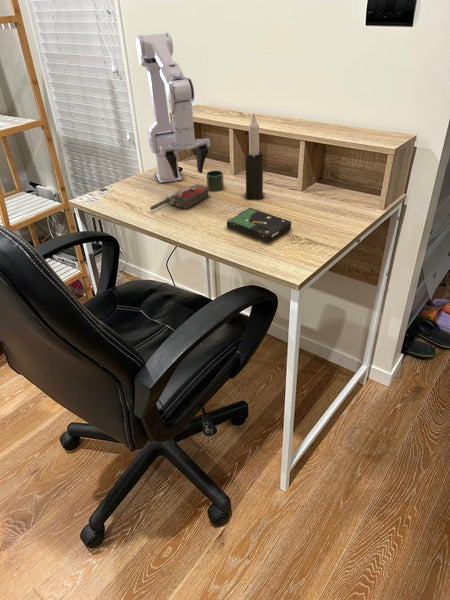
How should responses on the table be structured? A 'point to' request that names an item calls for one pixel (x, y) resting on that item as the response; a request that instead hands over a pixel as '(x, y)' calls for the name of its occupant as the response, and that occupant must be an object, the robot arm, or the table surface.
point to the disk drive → (259, 225)
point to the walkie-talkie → (185, 197)
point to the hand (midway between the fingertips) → (188, 174)
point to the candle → (254, 163)
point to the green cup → (215, 180)
